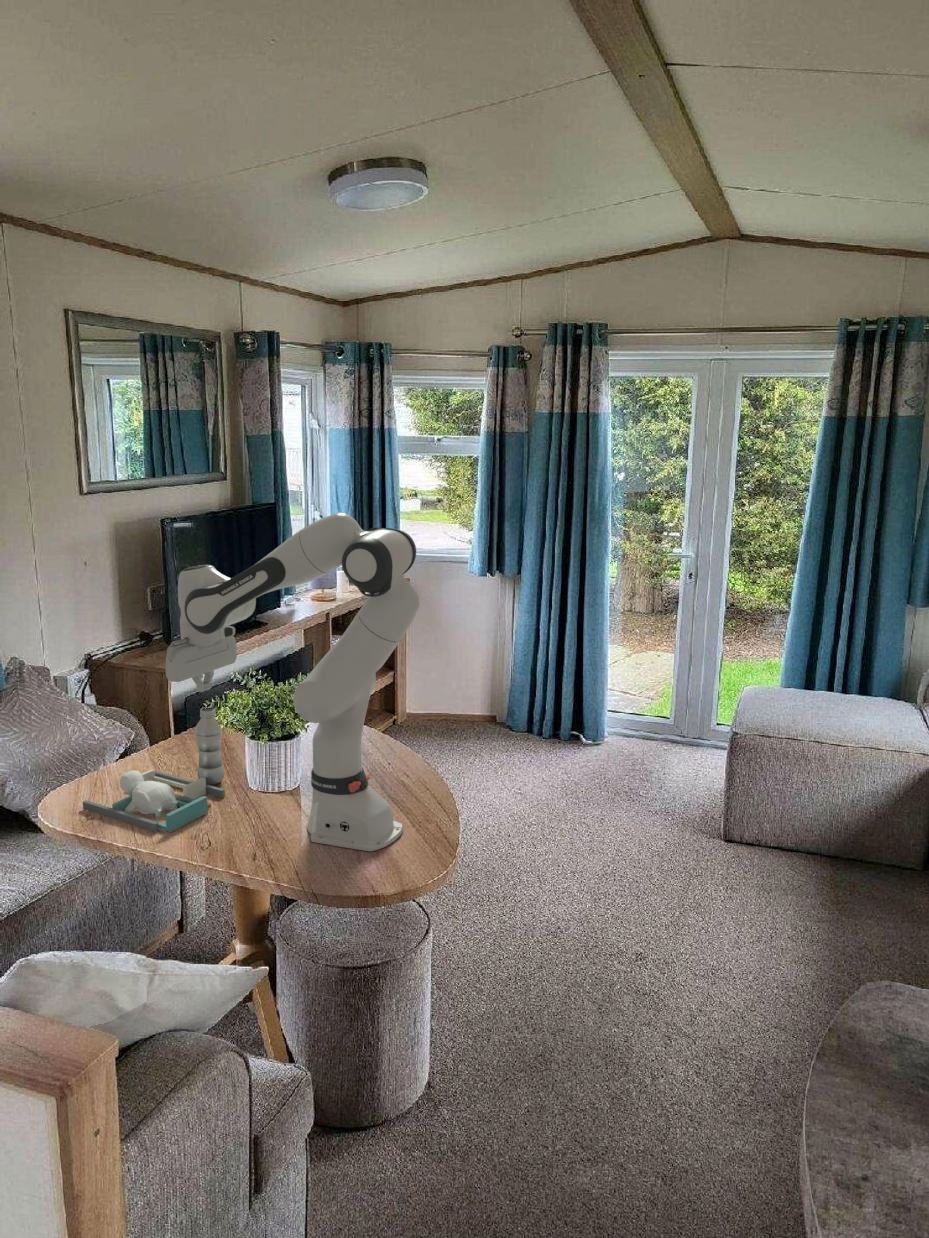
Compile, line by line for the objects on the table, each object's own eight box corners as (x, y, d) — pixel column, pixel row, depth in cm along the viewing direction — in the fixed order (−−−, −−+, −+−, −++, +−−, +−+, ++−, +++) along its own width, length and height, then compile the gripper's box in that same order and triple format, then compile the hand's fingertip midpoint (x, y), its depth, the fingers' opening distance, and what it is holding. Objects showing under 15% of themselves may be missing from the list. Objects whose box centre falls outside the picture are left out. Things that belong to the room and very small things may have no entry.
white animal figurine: (176, 819, 211) (134, 785, 216) (184, 791, 208) (141, 758, 213) (149, 833, 204) (106, 798, 209) (156, 804, 201) (113, 770, 206)
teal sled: (207, 812, 207) (207, 797, 207) (170, 832, 197) (169, 815, 196) (151, 796, 216) (150, 781, 215) (112, 814, 206) (111, 798, 205)
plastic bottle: (220, 788, 222) (217, 713, 218) (194, 787, 222) (190, 713, 218) (227, 778, 228) (224, 705, 224) (202, 777, 228) (198, 705, 224)
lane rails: (224, 796, 217) (224, 789, 217) (155, 832, 198) (155, 824, 197) (155, 777, 228) (154, 770, 227) (83, 809, 208) (82, 801, 208)
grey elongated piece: (206, 793, 218) (205, 778, 217) (187, 802, 213) (186, 787, 212) (152, 778, 226) (151, 764, 226) (133, 787, 221) (132, 772, 220)
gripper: (177, 644, 192) (181, 704, 195) (239, 626, 210) (242, 681, 213) (156, 641, 195) (161, 700, 198) (219, 623, 213) (223, 678, 216)
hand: (203, 690), depth 206 cm, fingers closed
